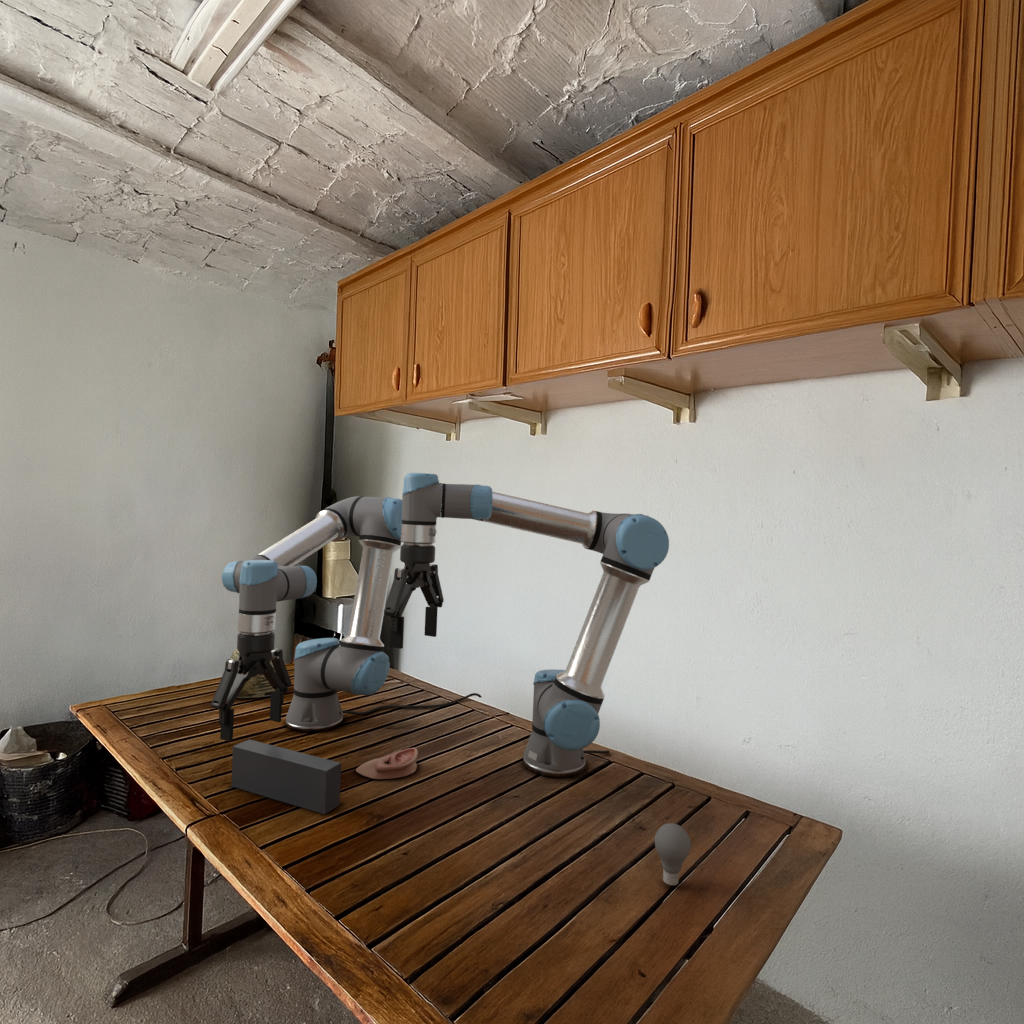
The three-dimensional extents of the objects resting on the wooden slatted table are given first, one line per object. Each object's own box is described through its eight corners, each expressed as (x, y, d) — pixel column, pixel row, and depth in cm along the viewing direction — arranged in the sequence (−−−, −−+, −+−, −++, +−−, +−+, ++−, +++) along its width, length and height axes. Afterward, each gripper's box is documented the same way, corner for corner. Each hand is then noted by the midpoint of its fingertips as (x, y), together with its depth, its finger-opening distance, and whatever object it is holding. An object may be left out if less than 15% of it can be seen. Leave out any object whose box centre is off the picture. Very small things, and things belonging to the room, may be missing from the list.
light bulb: (648, 873, 111) (650, 816, 111) (681, 872, 111) (684, 816, 111) (659, 894, 105) (661, 834, 105) (694, 894, 105) (697, 834, 105)
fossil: (218, 695, 195) (220, 647, 195) (278, 685, 208) (279, 640, 207) (228, 703, 189) (230, 653, 188) (289, 692, 201) (290, 645, 201)
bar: (231, 786, 137) (232, 746, 136) (247, 778, 141) (249, 739, 141) (324, 814, 126) (326, 771, 126) (339, 805, 131) (341, 762, 130)
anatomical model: (350, 758, 144) (371, 740, 155) (349, 775, 144) (371, 756, 155) (405, 766, 141) (423, 746, 152) (405, 783, 141) (422, 763, 152)
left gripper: (221, 644, 124) (216, 752, 124) (310, 625, 147) (305, 716, 147) (194, 639, 127) (189, 745, 127) (285, 621, 150) (281, 711, 150)
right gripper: (400, 548, 124) (396, 655, 125) (460, 542, 147) (456, 633, 148) (368, 545, 127) (364, 650, 128) (432, 540, 150) (429, 629, 151)
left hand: (252, 730), depth 137 cm, fingers open, 13 cm apart
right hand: (414, 641), depth 138 cm, fingers open, 13 cm apart
